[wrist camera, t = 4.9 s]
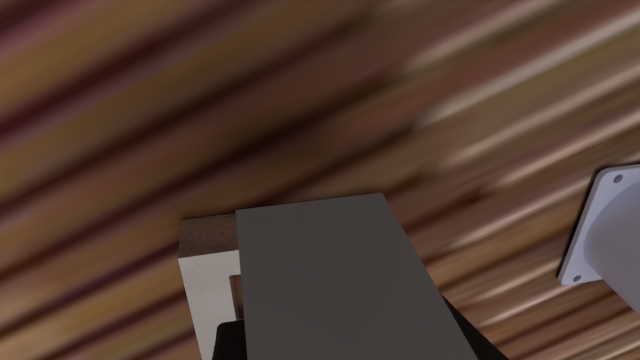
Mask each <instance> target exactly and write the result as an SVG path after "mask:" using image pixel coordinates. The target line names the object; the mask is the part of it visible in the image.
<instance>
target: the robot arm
mask: <svg viewBox="0 0 640 360" xmlns="http://www.w3.org/2000/svg"><path fill="white" fill-rule="evenodd" d="M601 279H603V280H604V281H605V282H606V283H607V284H608V285H609V286H610V287H611V288H612V289H613V290H614V291H615V292H616V293H617V294H618V295H619V296H620V297H621V298H622V299H623V300H624V301H625V302H626V303H627V304H628V305H629V306H630V307H631V308H632V309H633V310H635V311H636V312H637V313H638V314H639V315H640V164H636V165H628V166H620V167H613V168H607V169H603V170H602V171H600V172H599V173H598V175H597V176H596V179H595V181H594V184H593V187H592V189H591V192H590V195H589V197H588V200H587V202H586V205H585V208H584V210H583V213H582V216H581V218H580V221H579V223H578V226H577V229H576V231H575V234H574V237H573V239H572V242H571V245H570V247H569V250H568V252H567V255H566V258H565V260H564V263H563V266H562V268H561V271H560V274H559V276H558V280H559V282H560V283H561V284H562V285H572V284H578V283H583V282H589V281H595V280H601ZM439 293H440V292H439ZM440 294H441V293H440ZM441 296H442V298H443V299H444V301H445V303H446V305H447V306H448V308H449V310H450V312H451V313H452V315H453V317H454V319H455V320H456V322H457V324H458V326H459V327H460V329H461V331H462V332H463V334H464V336H465V338H466V339H467V341H468V343H469V345H470V346H471V348H472V350H473V352H474V353H475V355H476V357H477V359H478V360H509V359H508V358H507V357H506V356H505V355H504V354H503V353H502V352H501V351H499V350H498V349H497V348H496V347H495V346H494V345H493V344H492V343H491V342H490V341H489V340H488V339H486V338H485V337H484V336H483V335H482V334H481V333H480V332H479V331H478V330H477V329H476V328H475V327H474V326H473V325H472V324H471V323H470V322H469V321H468V320H467V319H466V318H465V317H464V316H463V315H462V314H461V313H460V312H459V311H458V310H457V309H456V308H455V307H454V306H453V305H452V304H451V303H450V302H449V301H448V300H447V299H446V298H445V297H444V296H443V295H442V294H441ZM212 360H248V358H247V346H246V334H245V321H244V319H243V320H237V321H230V322H224V323H221V324H220V325H219V326H218V327H217V331H216V340H215V345H214V351H213V356H212Z"/></svg>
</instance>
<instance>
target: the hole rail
mask: <svg viewBox="0 0 640 360" xmlns="http://www.w3.org/2000/svg"><path fill="white" fill-rule="evenodd" d="M178 261H179V265H180V269H181V273H182V278H183V282H184V286H185V290H186V294H187V298H188V303H189V307H190V311H191V315H192V319H193V323H194V328H195V332H196V336H197V340H198V344H199V348H200V353H201V357H202V360H212V356H213V351H214V345H215V340H216V331H217V327H218V326H219V325H220V324H221V323H224V322H230V321H237V320H243V319H244V317H239V312H238V306H237V299H236V293H235V287H234V280H233V275H238V274H241V272H240V260H239V247H238V235H237V223H236V213H232V214H224V215H216V216H208V217H200V218H193V219H185V220H181V228H180V240H179V252H178Z"/></svg>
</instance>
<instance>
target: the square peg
mask: <svg viewBox="0 0 640 360" xmlns="http://www.w3.org/2000/svg"><path fill="white" fill-rule="evenodd" d="M235 211H236V223H237V235H238V247H239V260H240V272H241V284H242V297H243V309H244V321H245V334H246V346H247V358H248V360H478V359H477V357H476V355H475V353H474V352H473V350H472V348H471V346H470V345H469V343H468V341H467V339H466V338H465V336H464V334H463V332H462V331H461V329H460V327H459V326H458V324H457V322H456V320H455V319H454V317H453V315H452V313H451V312H450V310H449V308H448V306H447V305H446V303H445V301H444V299H443V298H442V296H441V294H440V293H439V291H438V289H437V287H436V286H435V284H434V282H433V280H432V279H431V277H430V275H429V273H428V272H427V270H426V268H425V266H424V265H423V263H422V261H421V260H420V258H419V256H418V254H417V253H416V251H415V249H414V247H413V246H412V244H411V242H410V240H409V239H408V237H407V235H406V233H405V232H404V230H403V228H402V227H401V225H400V223H399V221H398V220H397V218H396V216H395V214H394V213H393V211H392V209H391V207H390V206H389V204H388V202H387V200H386V199H385V197H384V195H383V194H382V193H373V194H365V195H357V196H349V197H340V198H332V199H324V200H316V201H307V202H299V203H291V204H283V205H274V206H266V207H258V208H250V209H241V210H235Z"/></svg>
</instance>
